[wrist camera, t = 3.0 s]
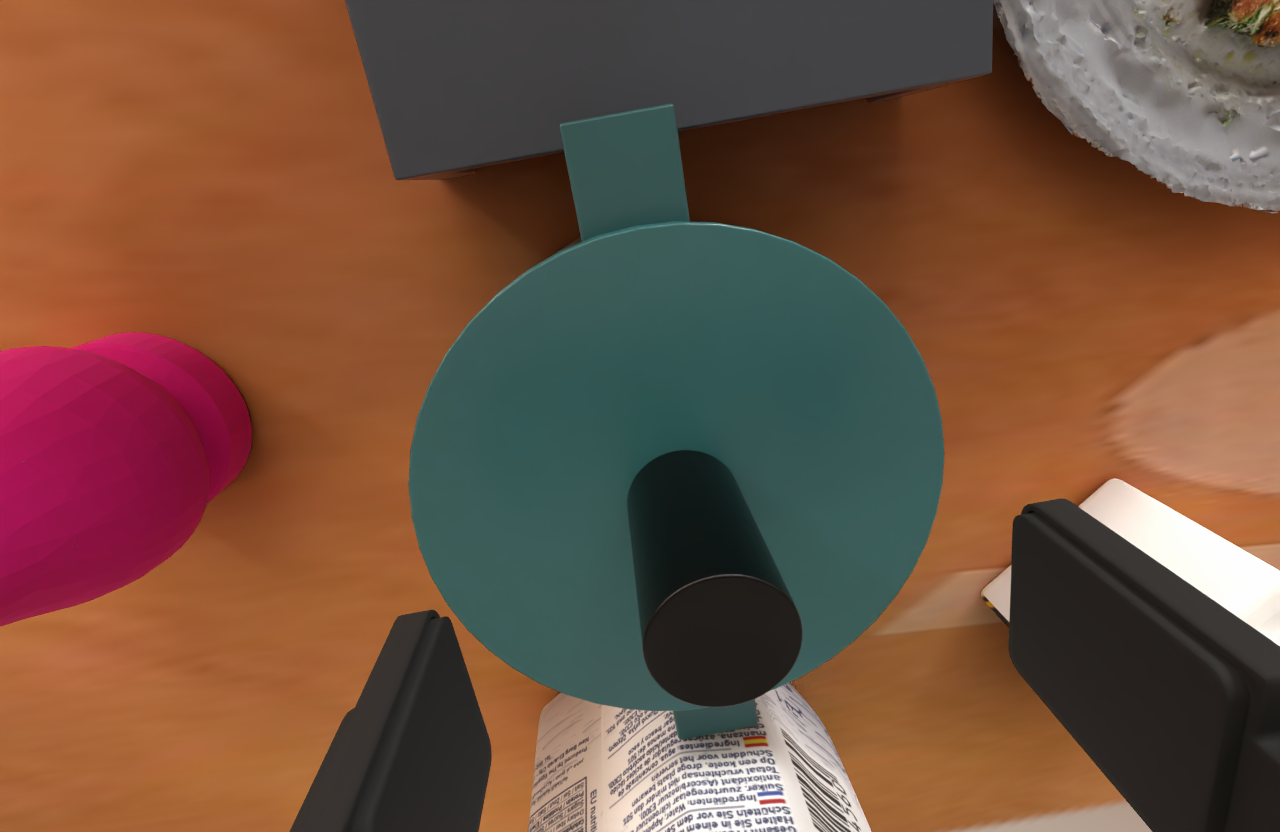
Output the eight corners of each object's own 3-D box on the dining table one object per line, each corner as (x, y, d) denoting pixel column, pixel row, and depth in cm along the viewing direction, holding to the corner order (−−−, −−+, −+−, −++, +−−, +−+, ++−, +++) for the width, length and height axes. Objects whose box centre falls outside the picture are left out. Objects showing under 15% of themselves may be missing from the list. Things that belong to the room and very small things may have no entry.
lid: (491, 718, 18) (445, 963, 13) (349, 274, 14) (183, 341, 8) (926, 636, 18) (1077, 843, 13) (918, 172, 14) (1139, 168, 8)
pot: (544, 606, 27) (525, 790, 19) (429, 168, 21) (328, 161, 13) (822, 555, 27) (920, 716, 19) (785, 103, 21) (905, 58, 13)
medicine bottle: (973, 591, 28) (1234, 873, 16) (1110, 471, 26) (1502, 693, 15) (1070, 674, 30) (1363, 978, 18) (1203, 568, 28) (1611, 828, 17)
